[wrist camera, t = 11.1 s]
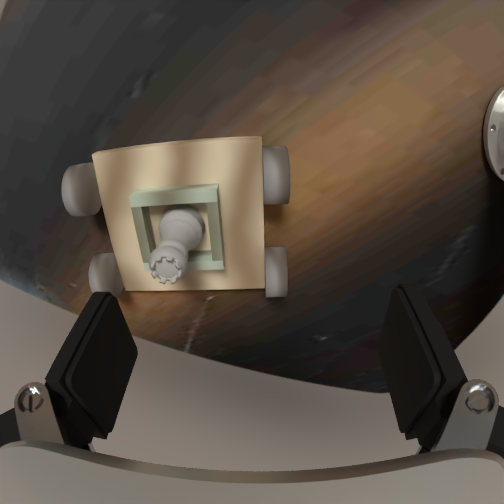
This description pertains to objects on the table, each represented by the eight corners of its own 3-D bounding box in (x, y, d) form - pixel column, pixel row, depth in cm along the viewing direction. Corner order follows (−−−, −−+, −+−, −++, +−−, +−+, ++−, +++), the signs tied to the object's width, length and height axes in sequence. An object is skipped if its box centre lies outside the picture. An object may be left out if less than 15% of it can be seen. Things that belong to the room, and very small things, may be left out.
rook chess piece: (192, 251, 32) (179, 302, 26) (153, 230, 31) (130, 278, 24) (214, 217, 30) (204, 263, 24) (172, 194, 29) (150, 235, 22)
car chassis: (283, 135, 28) (290, 147, 23) (282, 280, 36) (286, 310, 32) (80, 154, 28) (55, 169, 24) (113, 284, 36) (99, 311, 32)
